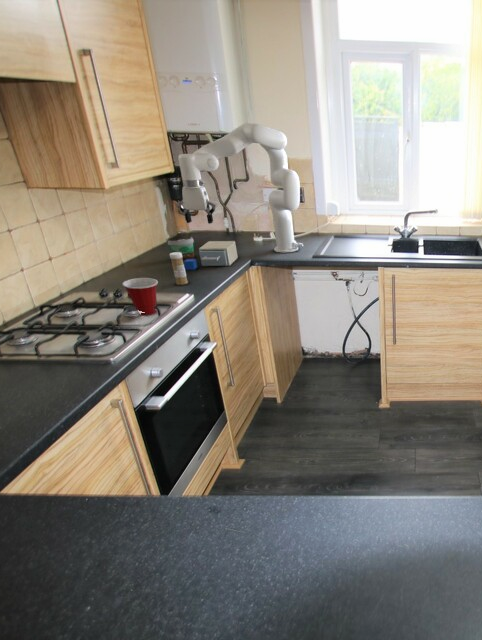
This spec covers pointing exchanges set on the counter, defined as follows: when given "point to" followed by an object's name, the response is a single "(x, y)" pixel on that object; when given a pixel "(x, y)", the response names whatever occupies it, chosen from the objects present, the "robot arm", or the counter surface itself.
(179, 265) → the sprinkles bottle
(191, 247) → the food container
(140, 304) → the plastic cup
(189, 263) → the blue cube
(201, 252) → the grey drawer
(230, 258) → the cream drawer box
